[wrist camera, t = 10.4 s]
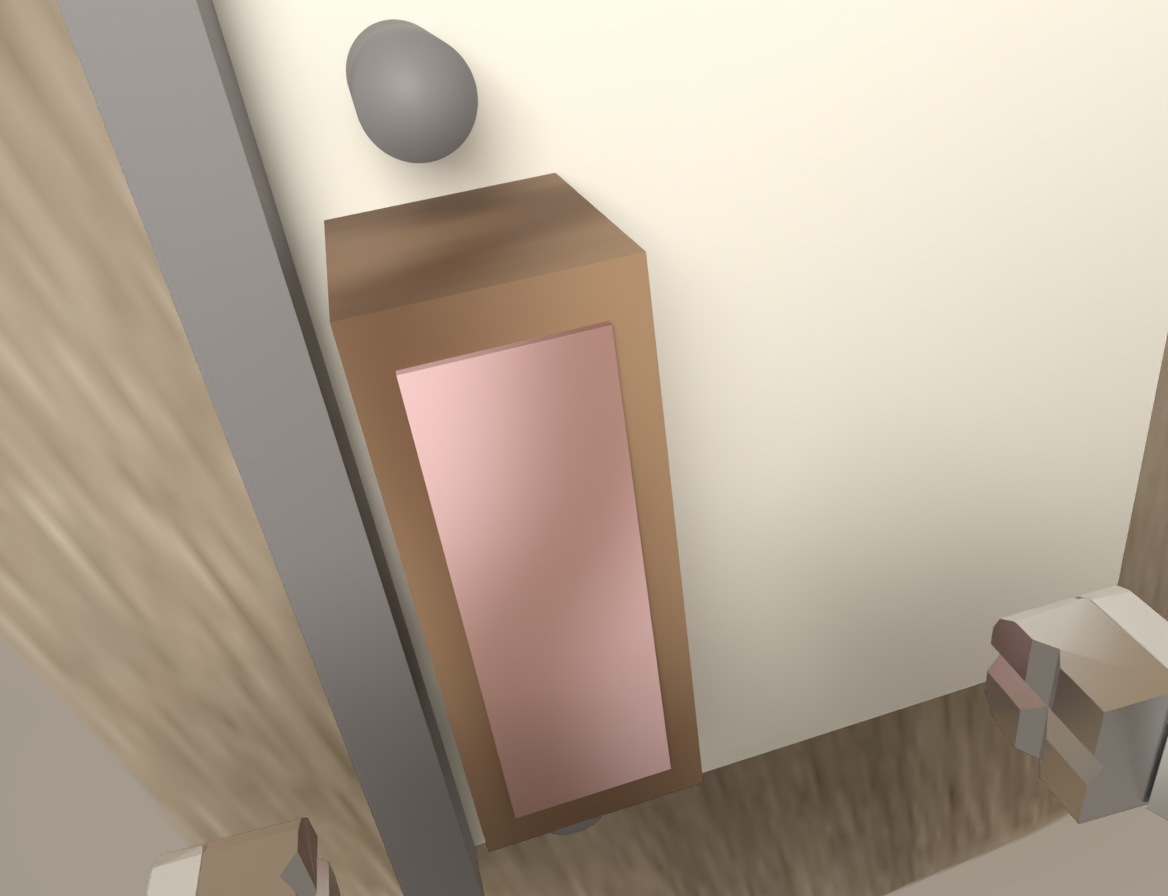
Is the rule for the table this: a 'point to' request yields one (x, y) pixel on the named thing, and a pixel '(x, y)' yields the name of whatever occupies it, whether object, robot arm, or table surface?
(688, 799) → the table surface
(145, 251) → the table surface
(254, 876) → the robot arm
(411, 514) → the wooden block
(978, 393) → the board
